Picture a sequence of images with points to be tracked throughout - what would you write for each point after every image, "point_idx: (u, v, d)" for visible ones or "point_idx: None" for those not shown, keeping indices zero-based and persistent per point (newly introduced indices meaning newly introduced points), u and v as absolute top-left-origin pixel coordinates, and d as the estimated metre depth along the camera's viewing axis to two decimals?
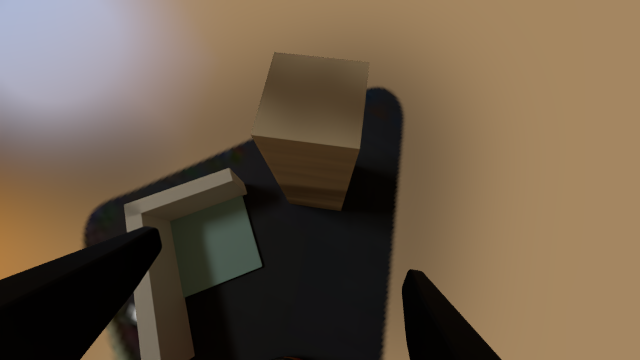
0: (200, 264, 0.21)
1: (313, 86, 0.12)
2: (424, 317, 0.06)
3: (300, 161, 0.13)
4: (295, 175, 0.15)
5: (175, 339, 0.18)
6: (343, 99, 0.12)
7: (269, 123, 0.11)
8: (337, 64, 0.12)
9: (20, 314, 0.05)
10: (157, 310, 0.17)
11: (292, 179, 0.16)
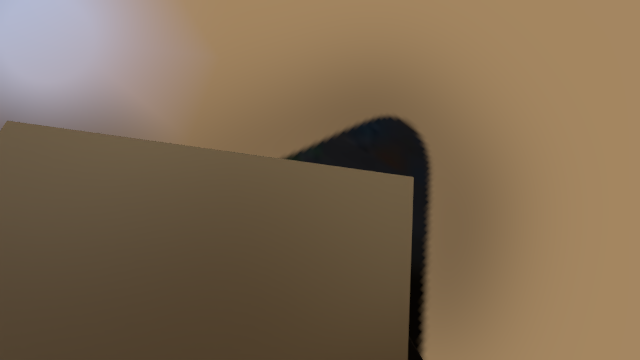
0: None
1: (121, 330, 0.02)
2: None
3: None
4: None
5: None
6: None
7: None
8: (265, 186, 0.03)
9: None
10: None
11: None
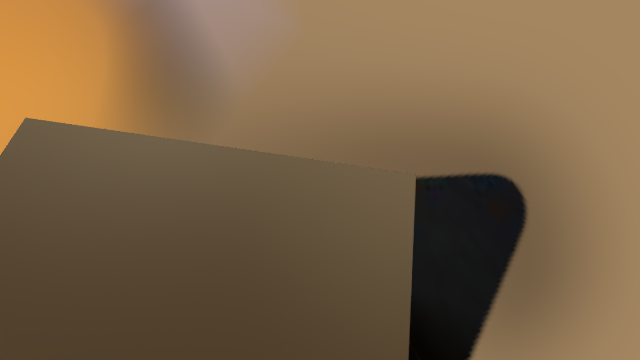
0: None
1: (133, 318, 0.02)
2: None
3: None
4: None
5: None
6: None
7: None
8: (272, 182, 0.03)
9: None
10: None
11: None
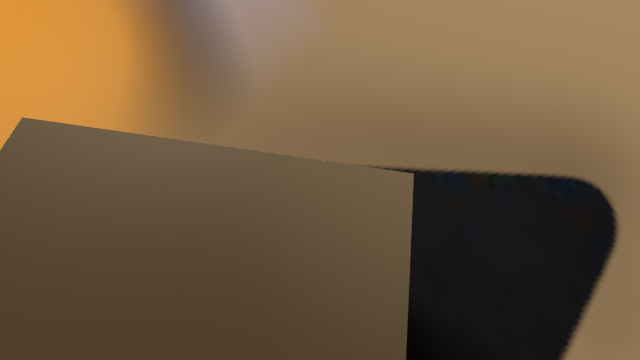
0: None
1: (129, 318, 0.02)
2: None
3: None
4: None
5: None
6: None
7: None
8: (269, 182, 0.03)
9: None
10: None
11: None
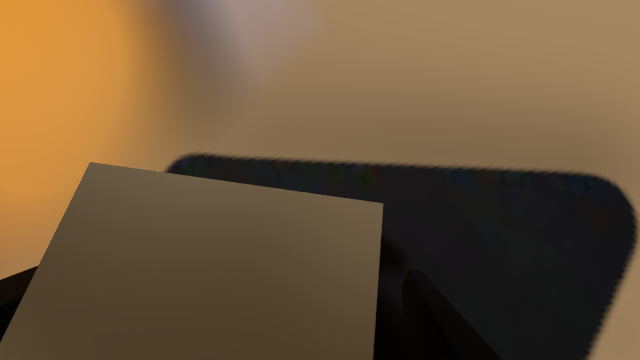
0: None
1: (187, 310, 0.03)
2: (424, 317, 0.06)
3: None
4: None
5: None
6: None
7: None
8: (280, 210, 0.04)
9: None
10: None
11: None
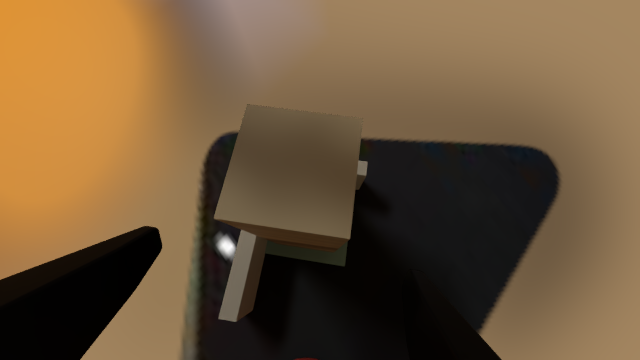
0: None
1: (293, 151, 0.10)
2: (424, 317, 0.06)
3: (280, 234, 0.11)
4: (277, 237, 0.13)
5: (250, 289, 0.18)
6: (330, 169, 0.09)
7: (237, 202, 0.09)
8: (324, 120, 0.10)
9: (20, 314, 0.05)
10: (252, 257, 0.17)
11: (274, 237, 0.14)
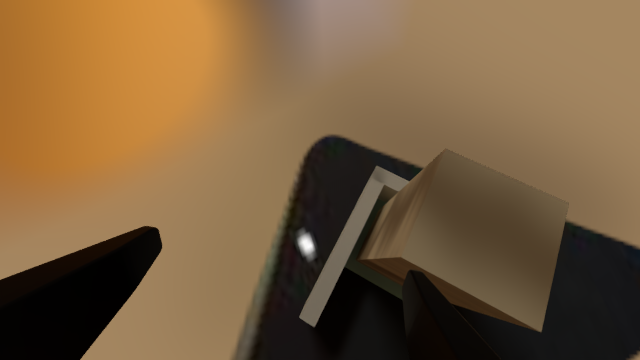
0: None
1: (489, 214, 0.09)
2: (424, 317, 0.06)
3: None
4: (400, 273, 0.13)
5: None
6: (526, 248, 0.09)
7: (426, 248, 0.09)
8: (525, 192, 0.10)
9: (20, 314, 0.05)
10: (341, 270, 0.18)
11: (389, 269, 0.14)
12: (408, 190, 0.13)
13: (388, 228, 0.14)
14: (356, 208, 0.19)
